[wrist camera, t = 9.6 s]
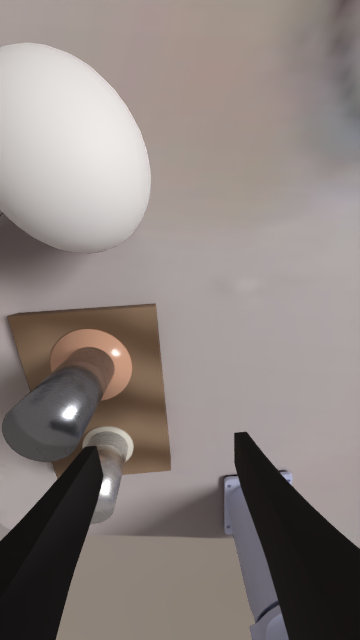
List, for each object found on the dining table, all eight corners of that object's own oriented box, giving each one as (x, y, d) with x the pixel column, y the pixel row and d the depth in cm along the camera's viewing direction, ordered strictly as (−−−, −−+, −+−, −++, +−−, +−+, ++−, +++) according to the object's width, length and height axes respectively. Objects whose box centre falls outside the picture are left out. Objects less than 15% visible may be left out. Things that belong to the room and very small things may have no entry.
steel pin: (119, 383, 18) (88, 455, 11) (76, 390, 18) (18, 466, 11) (108, 343, 17) (66, 396, 10) (62, 350, 17) (-11, 408, 10)
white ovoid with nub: (69, 231, 16) (-143, 162, 5) (103, 154, 14) (-86, -151, 4) (137, 272, 17) (79, 286, 6) (175, 204, 15) (182, 73, 5)
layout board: (170, 459, 22) (170, 533, 16) (63, 469, 22) (22, 547, 16) (155, 303, 18) (147, 324, 11) (18, 313, 17) (-68, 339, 11)
